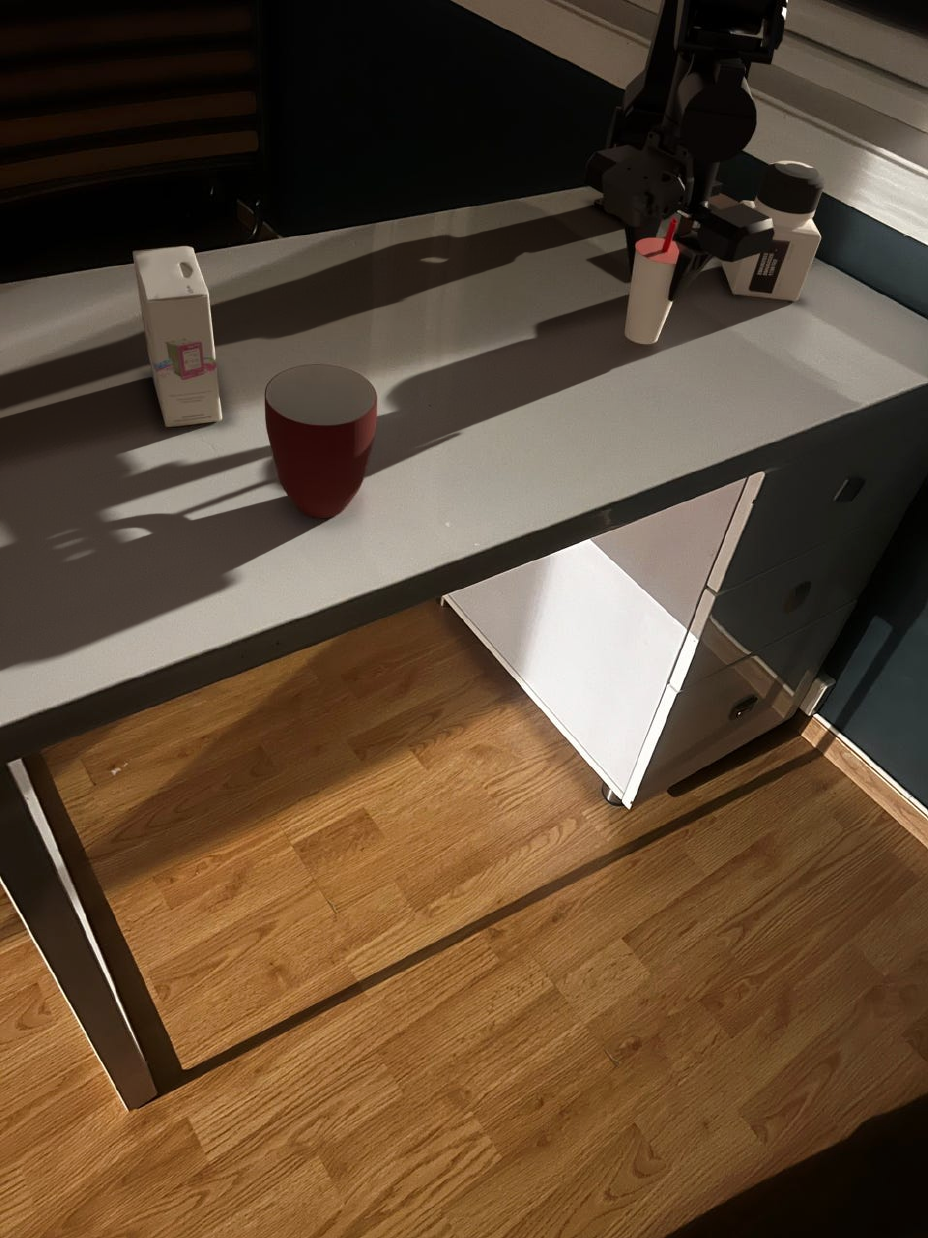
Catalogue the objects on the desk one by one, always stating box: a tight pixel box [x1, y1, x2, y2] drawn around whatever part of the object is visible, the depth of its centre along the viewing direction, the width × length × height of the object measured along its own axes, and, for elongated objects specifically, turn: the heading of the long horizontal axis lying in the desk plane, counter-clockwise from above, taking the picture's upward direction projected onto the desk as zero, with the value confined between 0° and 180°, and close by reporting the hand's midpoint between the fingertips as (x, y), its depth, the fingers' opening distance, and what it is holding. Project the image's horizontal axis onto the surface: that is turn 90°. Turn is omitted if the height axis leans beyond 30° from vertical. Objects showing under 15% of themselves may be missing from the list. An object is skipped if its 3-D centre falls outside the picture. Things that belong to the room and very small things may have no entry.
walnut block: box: [675, 192, 740, 237], centre depth 119 cm, size 6×6×4 cm
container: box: [721, 160, 826, 302], centre depth 109 cm, size 8×8×13 cm
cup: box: [624, 217, 679, 345], centre depth 94 cm, size 5×5×12 cm
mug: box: [264, 363, 378, 519], centre depth 74 cm, size 10×8×10 cm
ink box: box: [132, 245, 223, 428], centre depth 81 cm, size 8×5×12 cm, turn 21°
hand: (653, 288), depth 95 cm, fingers closed on cup, 5 cm apart
